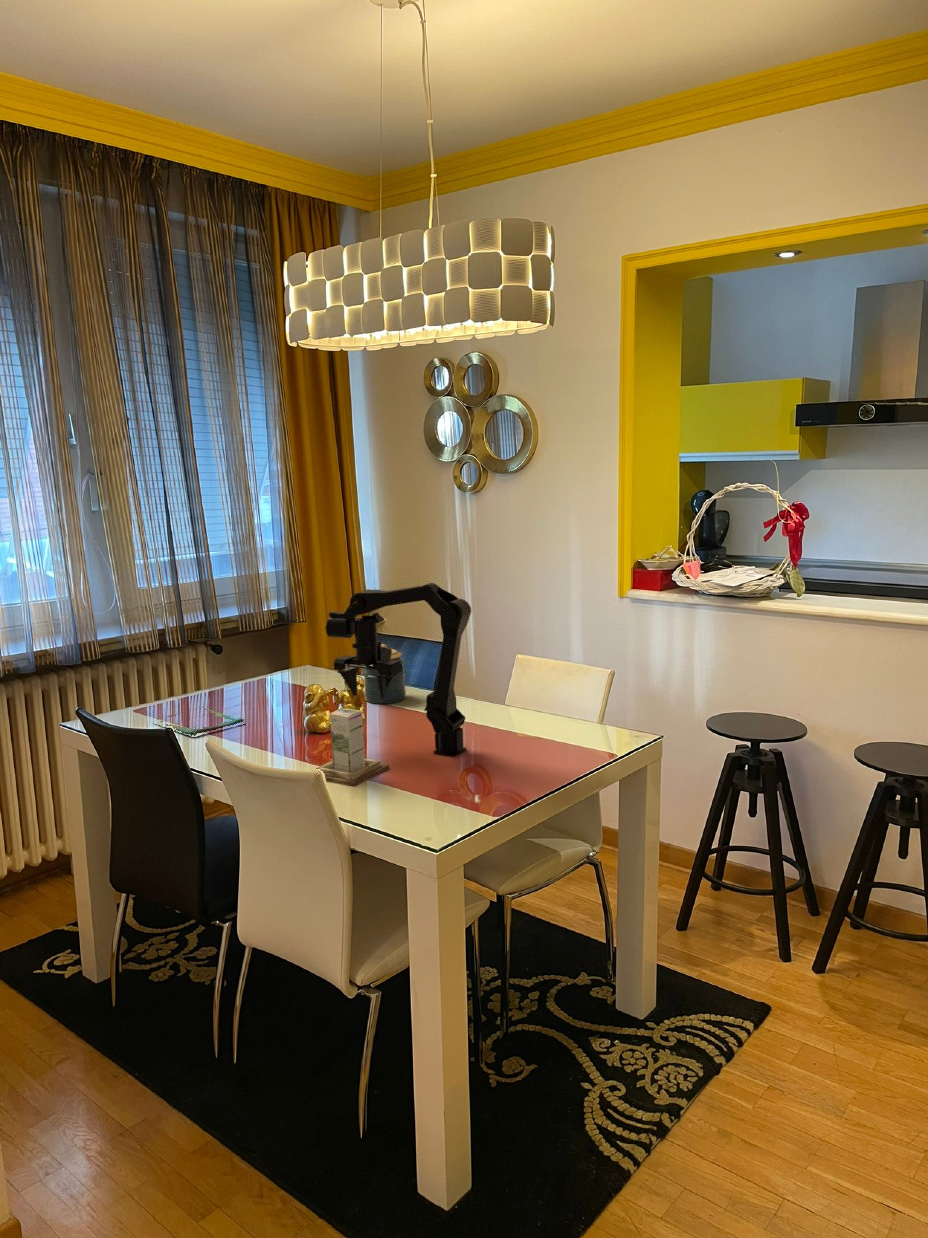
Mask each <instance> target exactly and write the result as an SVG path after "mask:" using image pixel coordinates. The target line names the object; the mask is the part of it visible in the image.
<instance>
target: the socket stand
mask: <svg viewBox="0 0 928 1238" xmlns="http://www.w3.org/2000/svg"><path fill="white" fill-rule="evenodd" d="M316 769H320V770H321V771H323V773H324V774H325V778H326V780H327V781H326V782H331V783H336V784H341V785H345V786H351V787H356V786H358V785H360V784H362V783H364V782H365V781H367V780H369V779H371V778H374V777H375V776H377V775H379V774H380V773H382V772H384V771H385V772H386V771H387V770H389V769H390V764H386V763H381V760H377V759H376V760H375V759H370V758H365V767H363V768H361V769H359V770H357V771H355V772H353V773H348V772H343V771H338V770H334V769H333V759H332V760H330V761H328V762H327V763H324V764H322V765H320V766H318V767H316V768H315V770H316Z"/></svg>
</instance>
